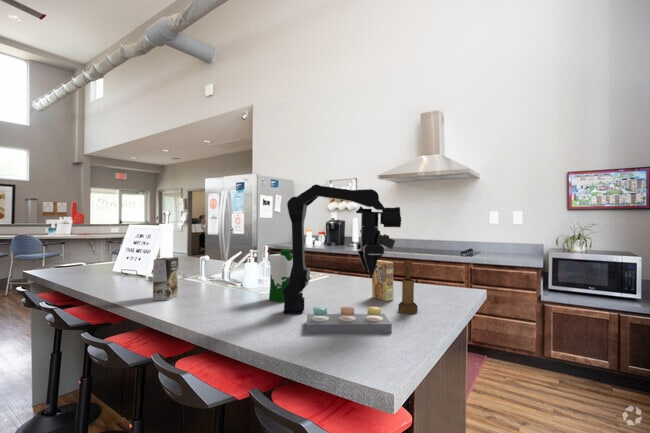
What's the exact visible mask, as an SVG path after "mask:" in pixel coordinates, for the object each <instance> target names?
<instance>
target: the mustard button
mask: <svg viewBox="0 0 650 433" xmlns="http://www.w3.org/2000/svg"><path fill="white" fill-rule="evenodd" d="M366 310H367V312H366V314H369V315H375V316H376V315H381V314H382V308H381V307H379V306H369V307H367V309H366Z"/></svg>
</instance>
